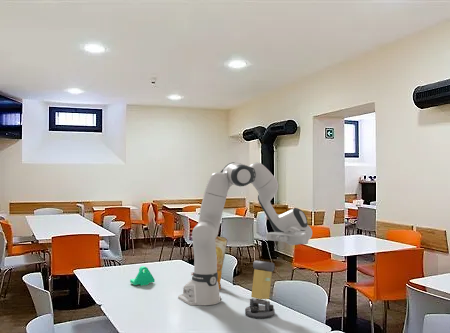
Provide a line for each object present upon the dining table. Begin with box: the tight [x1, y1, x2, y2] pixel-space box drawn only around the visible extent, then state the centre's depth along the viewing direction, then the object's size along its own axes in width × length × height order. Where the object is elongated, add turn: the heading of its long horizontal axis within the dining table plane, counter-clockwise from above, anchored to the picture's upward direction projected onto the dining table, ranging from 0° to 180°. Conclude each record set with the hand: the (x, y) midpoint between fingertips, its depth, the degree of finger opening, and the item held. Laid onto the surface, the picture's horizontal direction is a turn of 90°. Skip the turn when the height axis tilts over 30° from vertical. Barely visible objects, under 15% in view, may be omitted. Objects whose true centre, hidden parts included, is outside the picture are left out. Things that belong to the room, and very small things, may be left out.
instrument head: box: [250, 259, 276, 306], centre depth 190 cm, size 9×7×18 cm
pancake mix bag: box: [215, 235, 228, 290], centre depth 238 cm, size 7×19×28 cm, turn 34°
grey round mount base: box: [244, 297, 276, 320], centre depth 189 cm, size 13×13×6 cm
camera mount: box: [129, 265, 155, 287], centre depth 243 cm, size 12×8×10 cm, turn 123°
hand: (278, 239), depth 202 cm, fingers closed
